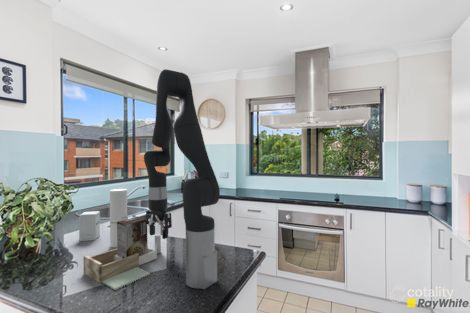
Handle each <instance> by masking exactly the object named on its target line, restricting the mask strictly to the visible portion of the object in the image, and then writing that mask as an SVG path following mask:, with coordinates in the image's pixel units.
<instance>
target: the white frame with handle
mask: <svg viewBox="0 0 470 313" xmlns="http://www.w3.org/2000/svg"><path fill="white" fill-rule="evenodd" d="M161 236H162V234H155V235H154V248H150V247H148V253H147V254H144V255H142V256H139V266H141V265H143V264H146V263H149V262H151V261H153V260H154V261H155V260H156V259H157V255H158V254H160V253H161V252H162V246H161V244H162V242H161V241H162V240H161V239H162V238H161ZM120 259H122V258H121V257H119V256H118V254H116V255H114V261H117V260H120Z"/></svg>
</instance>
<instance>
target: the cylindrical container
mask: <svg viewBox="0 0 470 313" xmlns="http://www.w3.org/2000/svg"><path fill="white" fill-rule="evenodd" d="M127 219H128V189H127V188H115V189H110V190H109V234H110V235H109V240H110V241H109V242H110V243H109V247H111V248H117V222H118V221H122V220H127Z"/></svg>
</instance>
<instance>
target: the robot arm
mask: <svg viewBox="0 0 470 313" xmlns="http://www.w3.org/2000/svg"><path fill="white" fill-rule="evenodd" d="M168 97H173V98H174V97H175V98H178V99H179V102H180V111H179V112H178V114H177V117H176V119H175V122H174V123H173V122H172V119H171V116H170V114H169V111H168V106H167V102H168ZM155 101H156V104H155V106H156V107H155V121H154V128H153V131H152V132H153V133H152V138H151V143H152V145H153V146H155V147H157V148H161V149H148V150H146V151H145V152H144V155H143V162H144V165H145V168H146V172H147V175H148V192H147V193H148V194H147V195H148V197H147V198H148V210H146V211H145V219H147V227H149V236H155V235H156V226H155V225H156V224H157V223H158V225H159V226H160V227H161V236H162V238H161V239H162V240H165V239H168V237H169V229H171V228H172V227H173V226H172V225H173V224H172V213H171V212H167V211H166V210H167V209H168V188H167V187H168V186H167V174H166V172H161V171H158V170H157V169H156V167H158V168H159V167H167V166H168V165H169V164H170V162H171V148H170V147H171V146H170V145H171V139H172V135H173V134H174V137H175V141H176V145H177V147H178V149H179V151H180V152H181V153H182V154H183V155H184V157H186V159H187V160H189V162H190V163H191V164H192V166H194V169H195V171H196V174H197V176H198V177H197V178H196V177H195V178H188V179H186V180H185V182H184V184H183V187H182V204H183V218H184V219H183V220H184V224H185V284H186V285H187V287H189V288H193V289H200V290H201V289H202V290H206V289H207V288H209V287H210V286H212V285H214V284H216V283H217V282H218V252H217V251H216V249H215V248H216V246H215V242H216V241H215V239H216V238H215V236H216V235H215V234H216V233H215V231H216V230H215V228H216V225H215V219H214V218H213V217H212V216H208V215H204V214H203V210H202V208H203V207H207V206H212V205H216V204H218V202H219V199H220V198H221V197H220V195H221V193H220V192H221V191H220V185H219V182H218V179H217V177H216V174H215V172H214V169H213V166H212V164H211V161H210V157H209V155H208V152H207V147H206V145H205V140H204V135H203V131H202V129H201V125H200V122H199V118H198V115H197V114H198V113H197V111H196V107H195V101H194V96H193V89H192V83H191V79H190V77H189V76H188V75H187V73H183V72H181V71H176V70H170V69H165V68H163V69H162V70H161V71H160V72H159V75H158V78H157V84H156V100H155ZM173 124H174V125H173ZM173 132H174V133H173Z"/></svg>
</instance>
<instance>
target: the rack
mask: <svg viewBox="0 0 470 313" xmlns="http://www.w3.org/2000/svg"><path fill="white" fill-rule="evenodd" d="M116 254H118V250H117V248H114V249H110V250H107V251H104V252H100V253H98V254H94V255H91V256H89V255H87V254H85V255H83V274H84V275H86V276H88V277H89V278H91V279H93V281H95V280H96V281H95V282H97V283H98V282H99V284H101V283H103V280H105V279H108V278H110V277H113V276H116V275H118V274H121V273H123V272H126V271H128V270H131V269H133V268H136V267H139V268H140V265H139V254H138V253H137V254H134V255H131V256H128V257H125V258H122V259H120V260H117V261H114V255H116Z"/></svg>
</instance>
